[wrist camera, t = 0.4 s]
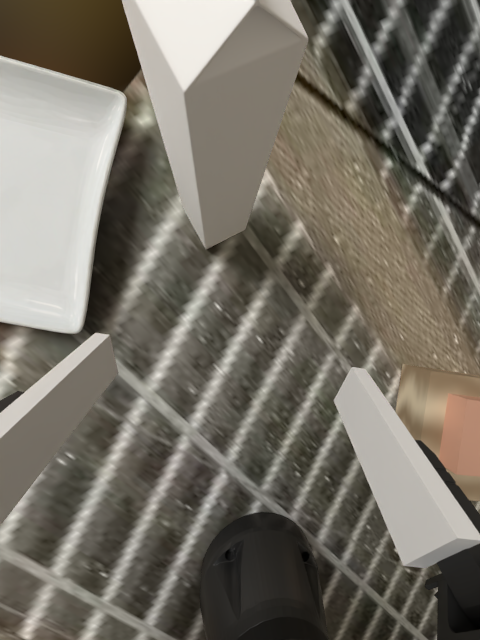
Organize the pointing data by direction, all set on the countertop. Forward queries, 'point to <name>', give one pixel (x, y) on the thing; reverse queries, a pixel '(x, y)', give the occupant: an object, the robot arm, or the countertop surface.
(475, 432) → the pink block
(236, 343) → the countertop surface
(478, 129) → the countertop surface
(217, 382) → the countertop surface
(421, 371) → the board
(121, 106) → the square plate
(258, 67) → the milk
